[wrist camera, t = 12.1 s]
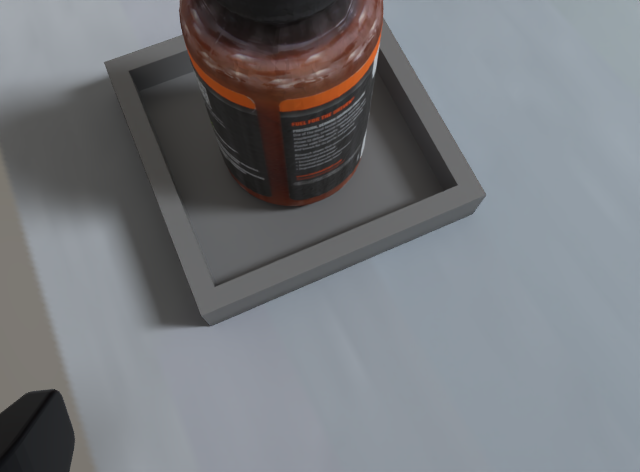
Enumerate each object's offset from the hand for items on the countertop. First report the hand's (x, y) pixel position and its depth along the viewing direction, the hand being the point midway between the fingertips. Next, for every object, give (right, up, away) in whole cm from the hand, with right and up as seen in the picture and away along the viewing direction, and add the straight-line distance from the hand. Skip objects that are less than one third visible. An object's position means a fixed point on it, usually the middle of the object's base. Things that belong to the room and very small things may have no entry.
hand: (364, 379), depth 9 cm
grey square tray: (-2, +6, +16) cm, 18 cm away
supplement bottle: (-2, +6, +16) cm, 17 cm away
